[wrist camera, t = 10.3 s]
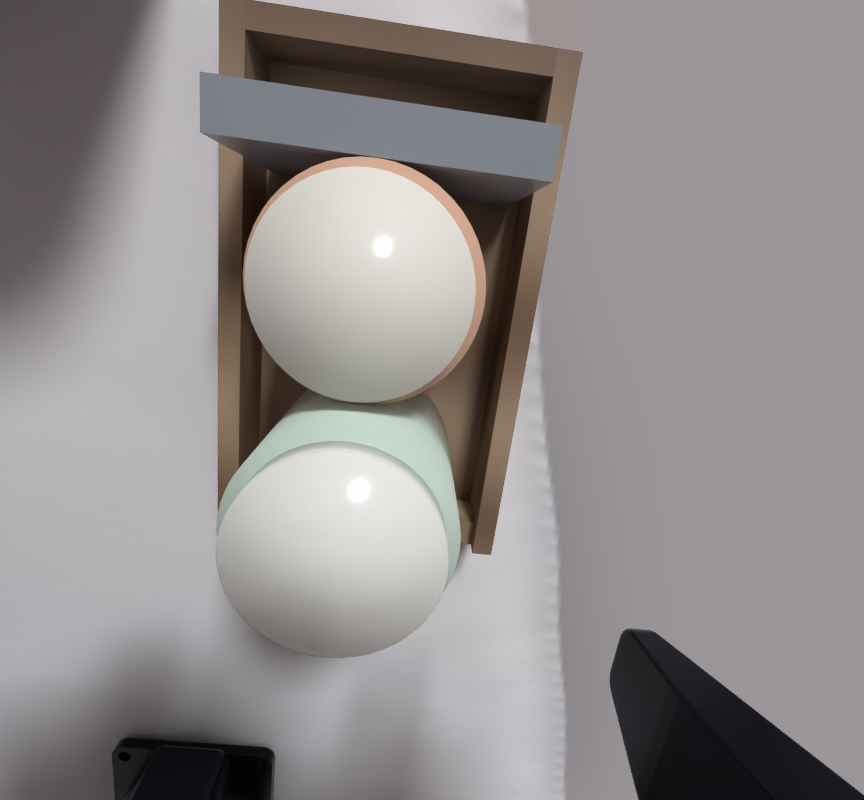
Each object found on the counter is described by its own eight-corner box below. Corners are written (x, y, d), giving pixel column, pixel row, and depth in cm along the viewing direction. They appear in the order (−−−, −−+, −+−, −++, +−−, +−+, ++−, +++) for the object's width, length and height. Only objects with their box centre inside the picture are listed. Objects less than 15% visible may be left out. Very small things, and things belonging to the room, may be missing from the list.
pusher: (509, 205, 14) (553, 182, 10) (275, 173, 14) (200, 132, 9) (514, 169, 14) (563, 125, 9) (276, 135, 14) (199, 71, 9)
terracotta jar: (451, 367, 16) (469, 429, 10) (297, 347, 16) (226, 400, 10) (476, 203, 15) (512, 169, 9) (306, 178, 14) (230, 127, 9)
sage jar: (457, 377, 15) (481, 456, 9) (437, 525, 16) (446, 678, 10) (287, 358, 14) (197, 427, 8) (281, 511, 16) (201, 660, 10)
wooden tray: (482, 516, 18) (490, 554, 16) (244, 492, 18) (218, 528, 15) (556, 85, 14) (582, 52, 12) (253, 38, 14) (218, -6, 11)
